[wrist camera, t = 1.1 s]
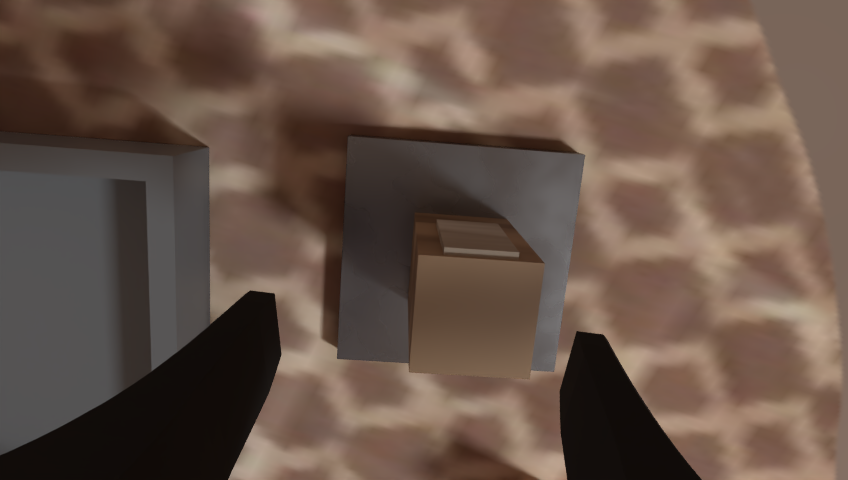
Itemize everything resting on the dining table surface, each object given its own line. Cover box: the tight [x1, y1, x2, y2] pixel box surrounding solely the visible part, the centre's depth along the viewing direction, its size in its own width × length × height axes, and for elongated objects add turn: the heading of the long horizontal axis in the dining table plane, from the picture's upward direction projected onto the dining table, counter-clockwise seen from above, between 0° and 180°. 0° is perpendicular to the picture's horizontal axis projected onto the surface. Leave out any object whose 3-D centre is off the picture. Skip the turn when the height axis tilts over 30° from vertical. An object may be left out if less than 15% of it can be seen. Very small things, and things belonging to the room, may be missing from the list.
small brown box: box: [408, 212, 545, 379], centre depth 22 cm, size 4×4×7 cm
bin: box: [0, 131, 210, 455], centre depth 25 cm, size 18×15×4 cm
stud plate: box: [337, 135, 585, 372], centre depth 25 cm, size 10×10×3 cm
